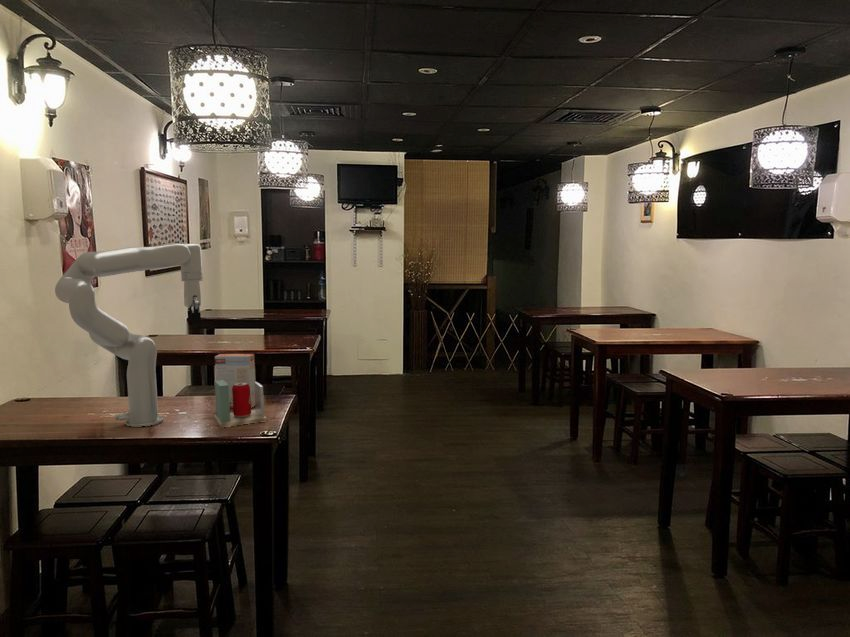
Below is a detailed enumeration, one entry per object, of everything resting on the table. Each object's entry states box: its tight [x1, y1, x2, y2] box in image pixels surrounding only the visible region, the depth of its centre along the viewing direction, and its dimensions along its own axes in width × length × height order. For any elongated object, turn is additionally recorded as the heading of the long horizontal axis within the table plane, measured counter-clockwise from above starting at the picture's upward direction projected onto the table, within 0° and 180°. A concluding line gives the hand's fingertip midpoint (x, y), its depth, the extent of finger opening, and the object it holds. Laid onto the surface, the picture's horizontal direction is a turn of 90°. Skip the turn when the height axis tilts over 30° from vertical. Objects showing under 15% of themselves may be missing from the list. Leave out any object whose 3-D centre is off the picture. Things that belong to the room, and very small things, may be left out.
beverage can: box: [232, 382, 252, 417], centre depth 236 cm, size 6×6×12 cm
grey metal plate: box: [254, 381, 265, 417], centre depth 239 cm, size 1×9×11 cm, turn 28°
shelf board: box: [213, 409, 268, 429], centre depth 236 cm, size 16×14×2 cm
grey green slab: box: [214, 380, 231, 422], centre depth 233 cm, size 3×10×13 cm, turn 28°
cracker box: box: [214, 353, 256, 409], centre depth 254 cm, size 14×6×21 cm, turn 84°
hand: (194, 322), depth 247 cm, fingers open, 9 cm apart
